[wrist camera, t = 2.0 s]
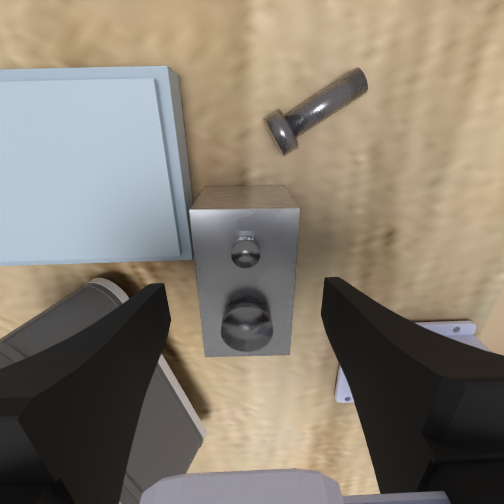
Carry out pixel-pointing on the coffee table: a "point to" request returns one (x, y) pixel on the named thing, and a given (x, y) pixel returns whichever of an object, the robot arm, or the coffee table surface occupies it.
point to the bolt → (314, 110)
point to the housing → (245, 268)
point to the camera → (156, 399)
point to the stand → (93, 166)
